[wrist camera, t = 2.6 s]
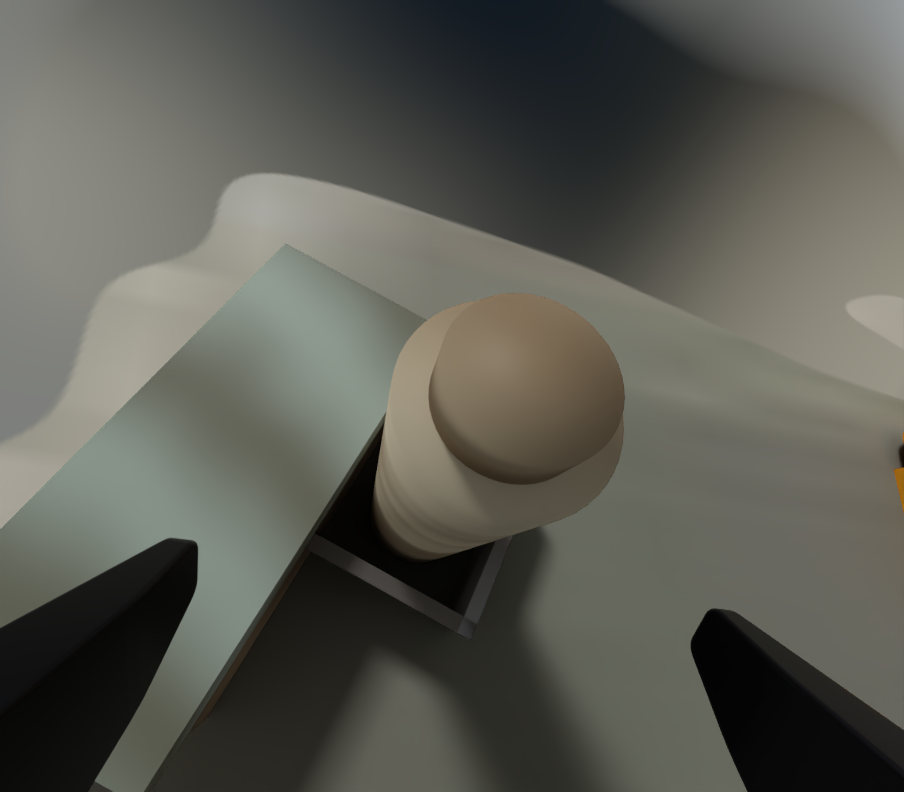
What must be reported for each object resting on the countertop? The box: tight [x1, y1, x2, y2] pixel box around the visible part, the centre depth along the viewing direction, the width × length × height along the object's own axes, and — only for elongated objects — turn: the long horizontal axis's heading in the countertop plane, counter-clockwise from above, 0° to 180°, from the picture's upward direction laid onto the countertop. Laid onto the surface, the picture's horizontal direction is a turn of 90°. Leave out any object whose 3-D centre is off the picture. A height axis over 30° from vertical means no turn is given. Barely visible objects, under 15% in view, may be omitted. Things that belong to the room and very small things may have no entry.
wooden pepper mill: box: [370, 293, 625, 563], centre depth 12 cm, size 4×4×13 cm
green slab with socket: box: [0, 244, 513, 792], centre depth 15 cm, size 15×12×5 cm
